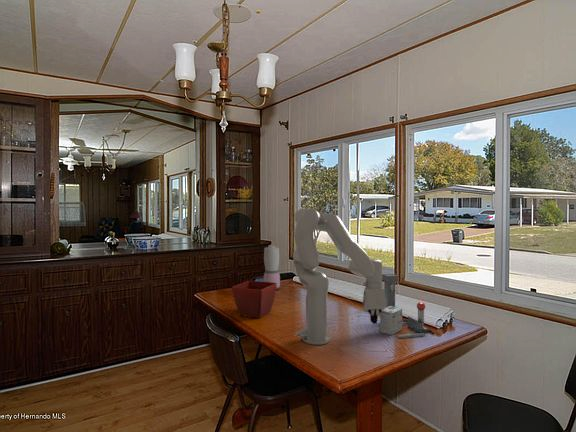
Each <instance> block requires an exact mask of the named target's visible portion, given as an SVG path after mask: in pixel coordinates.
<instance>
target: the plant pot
mask: <svg viewBox="0 0 576 432" xmlns="http://www.w3.org/2000/svg"><path fill="white" fill-rule="evenodd" d="M276 285H277V283H272V282H264V281H259V280H246V281H244V282H241V283H239V284H236V285H233V286H232V287H231V290H232V295H233V300H234V302H235V306H236V310H237V311H238V313H239V315H246V316H251V317H250V318H252V317H257V318H256V319H261V318H263V317H264V316H266V315H268V314H270V313H269V312H271V311H272V309H273V308H272V307H273V304H274V301H275V297H276V292H277V291H276V290H277V289H276ZM267 313H268V314H267ZM265 314H266V315H265ZM262 316H263V317H262ZM260 317H261V318H260Z"/></svg>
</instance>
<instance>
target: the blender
mask: <svg viewBox="0 0 576 432" xmlns="http://www.w3.org/2000/svg"><path fill="white" fill-rule="evenodd" d="M263 262H264V269H265V270H264V273H263V282H272V283H277V285H276V290H278V289H281V276H280V271H279V266H280V248H279V247H276V245H268V246H267V247H264V251H263Z"/></svg>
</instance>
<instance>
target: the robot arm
mask: <svg viewBox="0 0 576 432" xmlns="http://www.w3.org/2000/svg"><path fill="white" fill-rule="evenodd" d="M294 221H295V223H296V226H295V228H294V235H293V237H294V243H295V247H296V249H295V250H294V252H293V257H292V259H293V263H294V267H295V271H296V273H297V277H298V279H299V282H300V284H301V285H302V286H304V287H305V288H307V292H306V297H305V328H304V329H303V330H302V331H295V336H296V337H299V338H302V341H303V342H305V343H306V344H308V345H314V346H315V345H316V346H318V345H319V346H320V345H327V344H329V343H330V342H331V336H330V335H329V334H328V320H327V319H328V292H329V286H330V284H329V278H328V277H327V274H325V273H324V272H322V271H320V270H318V269H317V268H318V266H319V264H320V260H321V259H320V254H319V252H318V248H317V245H316V243H315V238H314V232H315V230H316V231H323V232H326V233H327V235H328V236H329V238H330V240H331V241H332V243H333V244H334V246H335V247H336V249H337V250H338V251H340V253H341V254H343V255H345V256H347V258H348V259H350V260H351V261H350V262H349V263H348V270H349V271H350V272H351V273H352V274H354V275H355V276H359V277H361V278H364V279H365V282H363V286H364V289H363V290H364V291H363V295H362V306H363V309H362V311H364V312H367V313H368V314H369V315H370V322H371V323H372V324H374V325H375V324H378V316H379V315H380V311H381V310H385V307H386V300H385V292H384V286H383V280H382V274H383V261H382V260H381V259H378V258H370V256H369V255H368V253H367V252H366V251H365V249H363V248H362V247H361V246H360V245H359V243H358V242H356V240H355V239H354V238H353V237H352V235H351V234H350V232H349V230H348V229H347V228H346V225H345V224H344V223H343V221H342V219H341V218H340V217H339V216H338V215H337V214H334V213H325V212H319V211H318V210H317V209H315V208H312V207H311V208H310V207H308V208H300V209H298V210H297V211H296V212H295V213H294Z"/></svg>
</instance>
